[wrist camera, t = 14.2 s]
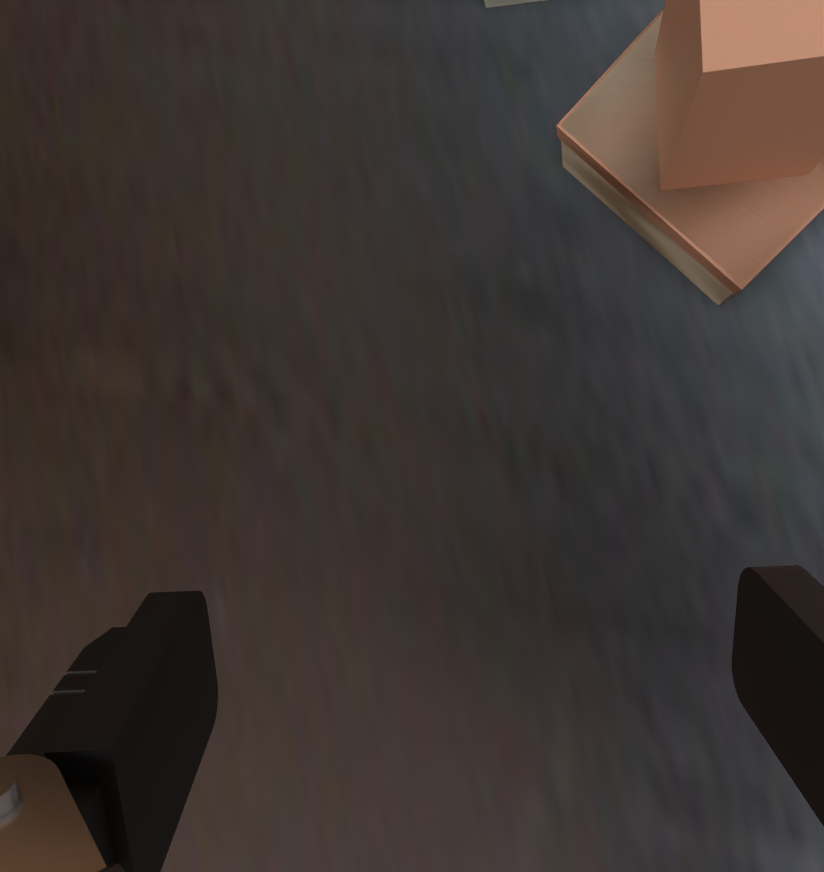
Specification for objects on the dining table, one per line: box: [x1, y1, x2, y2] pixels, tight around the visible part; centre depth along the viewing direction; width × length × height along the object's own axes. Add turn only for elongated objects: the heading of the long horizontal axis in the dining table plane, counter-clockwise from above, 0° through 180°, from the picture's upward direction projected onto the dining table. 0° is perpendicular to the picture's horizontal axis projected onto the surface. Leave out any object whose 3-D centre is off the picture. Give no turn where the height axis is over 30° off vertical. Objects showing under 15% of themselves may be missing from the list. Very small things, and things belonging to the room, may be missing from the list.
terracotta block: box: [654, 0, 824, 191], centre depth 23 cm, size 5×5×10 cm
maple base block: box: [556, 8, 824, 305], centre depth 30 cm, size 9×9×5 cm
